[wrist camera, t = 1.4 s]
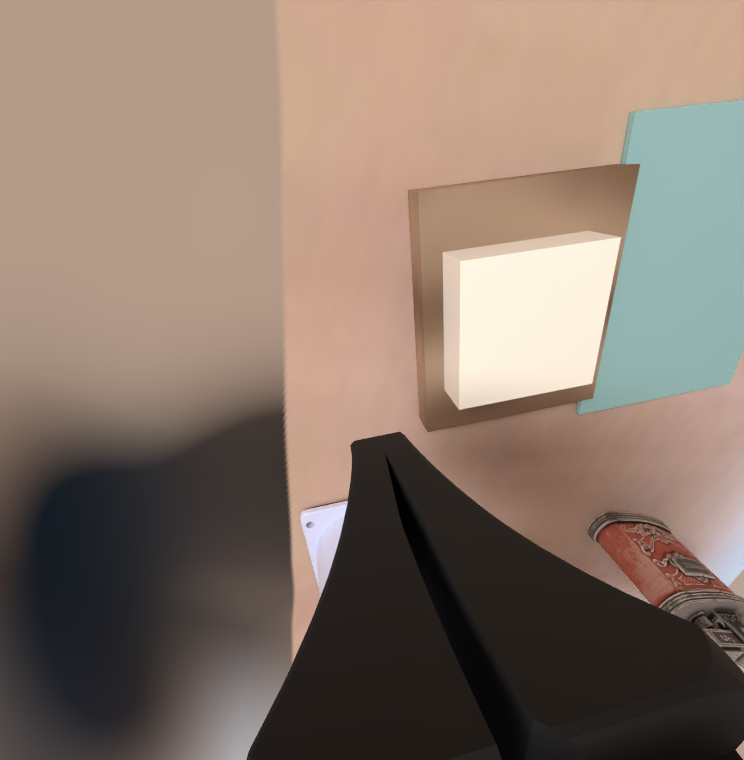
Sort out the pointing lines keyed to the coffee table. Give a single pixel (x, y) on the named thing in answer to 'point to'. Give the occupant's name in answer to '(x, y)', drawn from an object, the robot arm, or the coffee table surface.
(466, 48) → the coffee table surface
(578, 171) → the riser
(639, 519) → the lighter
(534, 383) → the cream flat block
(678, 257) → the mat
